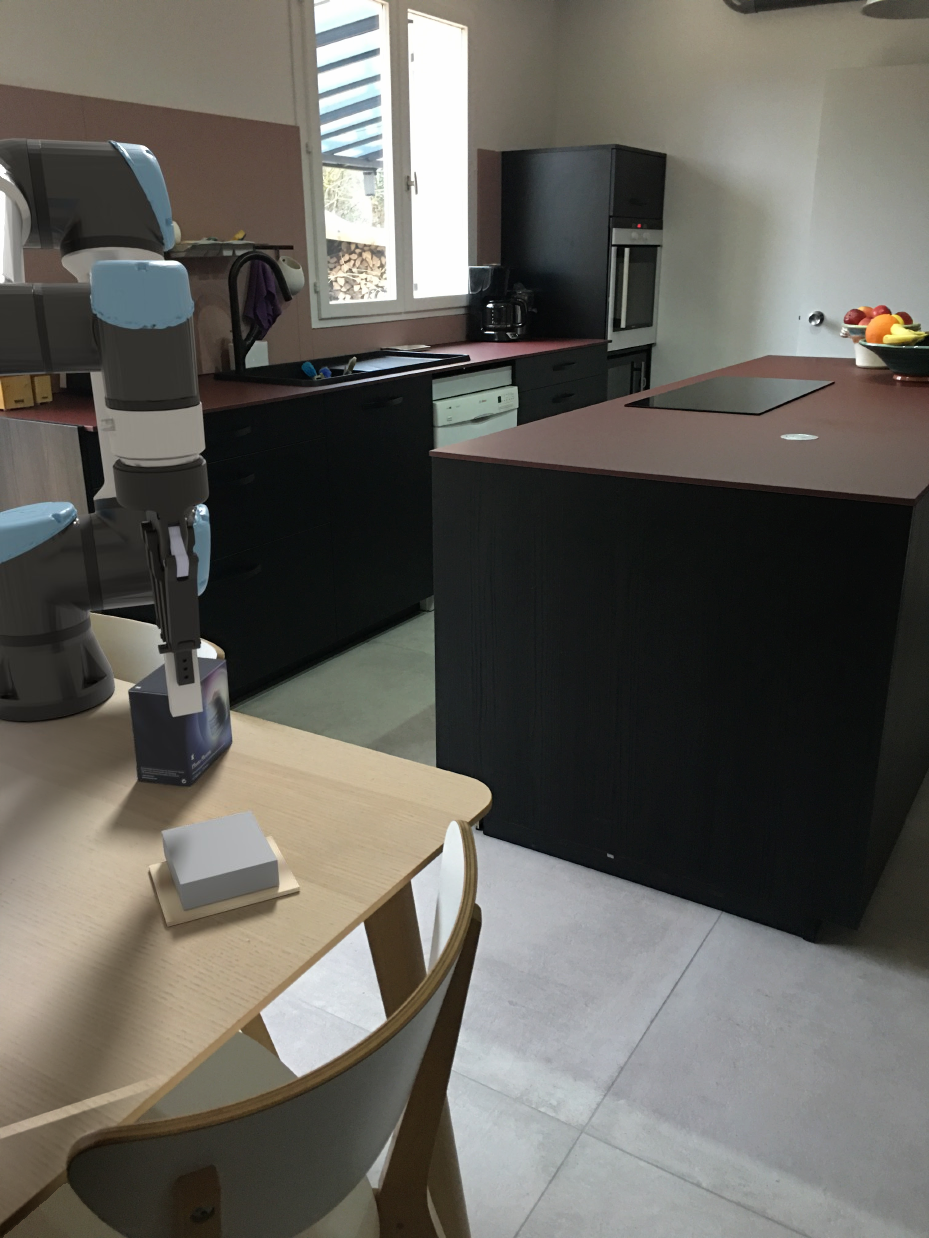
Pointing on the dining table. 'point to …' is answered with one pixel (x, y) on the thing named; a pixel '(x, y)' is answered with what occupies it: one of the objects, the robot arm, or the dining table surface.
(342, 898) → the dining table surface
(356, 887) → the dining table surface
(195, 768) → the small box
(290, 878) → the cork mat
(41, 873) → the dining table surface
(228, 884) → the grey square slab
